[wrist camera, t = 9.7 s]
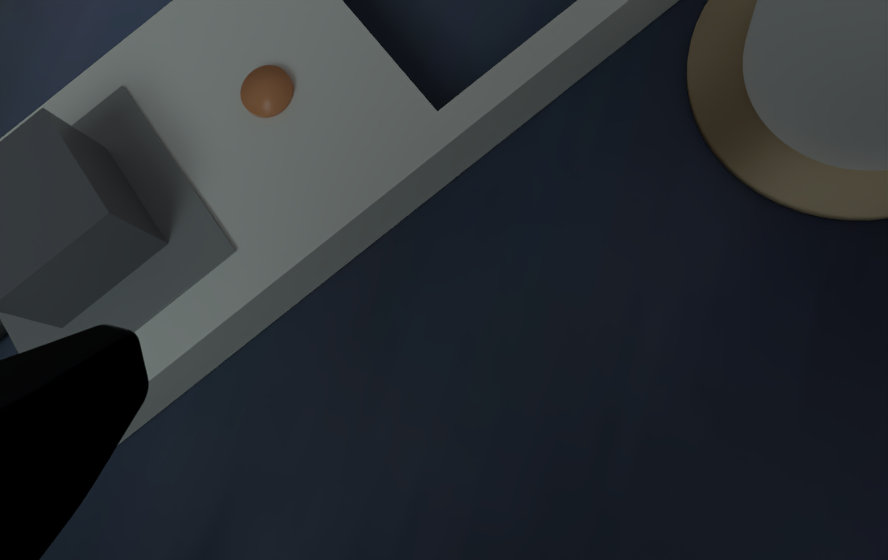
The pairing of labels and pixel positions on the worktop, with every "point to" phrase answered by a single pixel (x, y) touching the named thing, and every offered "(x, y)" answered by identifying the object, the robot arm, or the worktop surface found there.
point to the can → (822, 78)
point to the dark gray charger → (65, 222)
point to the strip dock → (283, 158)
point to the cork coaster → (765, 129)
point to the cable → (2, 330)
